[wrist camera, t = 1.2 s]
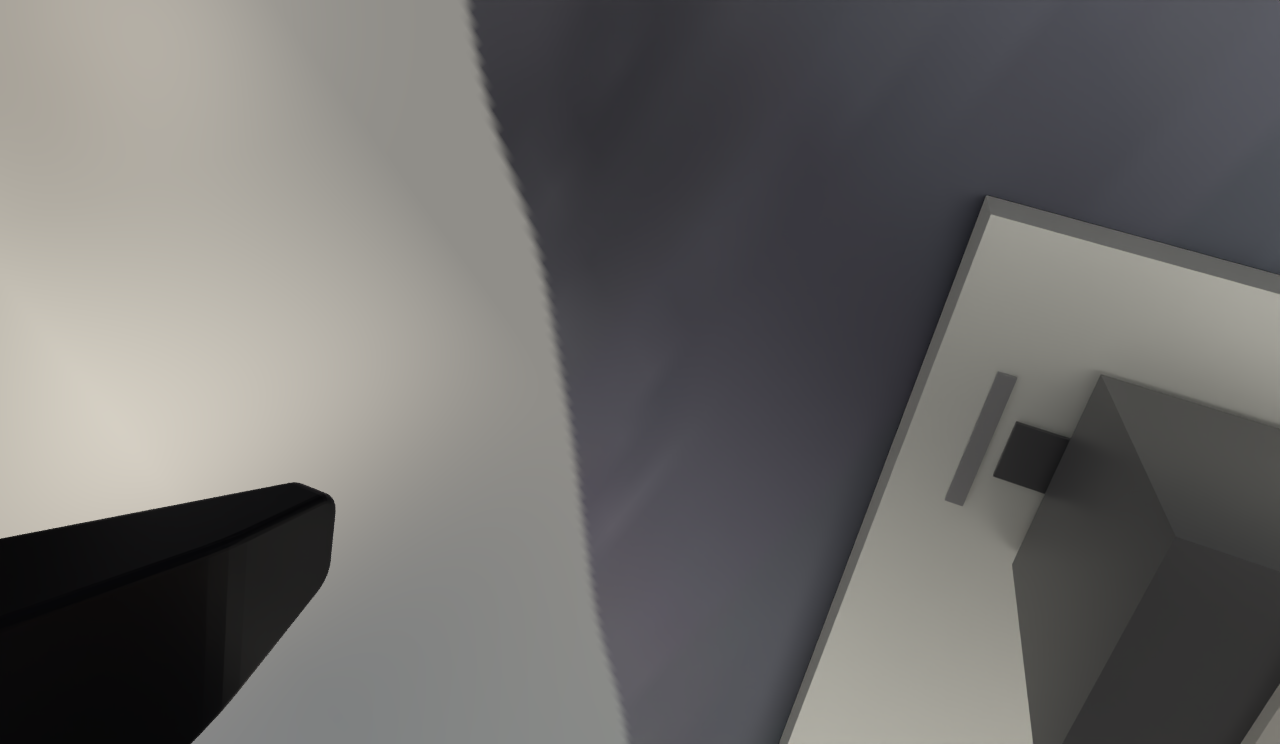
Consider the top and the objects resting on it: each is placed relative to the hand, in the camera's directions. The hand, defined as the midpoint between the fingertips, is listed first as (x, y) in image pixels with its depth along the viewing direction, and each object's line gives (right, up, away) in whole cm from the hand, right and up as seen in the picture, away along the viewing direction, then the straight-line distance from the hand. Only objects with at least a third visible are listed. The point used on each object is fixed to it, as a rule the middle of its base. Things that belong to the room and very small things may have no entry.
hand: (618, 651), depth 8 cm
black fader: (+8, 0, +6) cm, 10 cm away
